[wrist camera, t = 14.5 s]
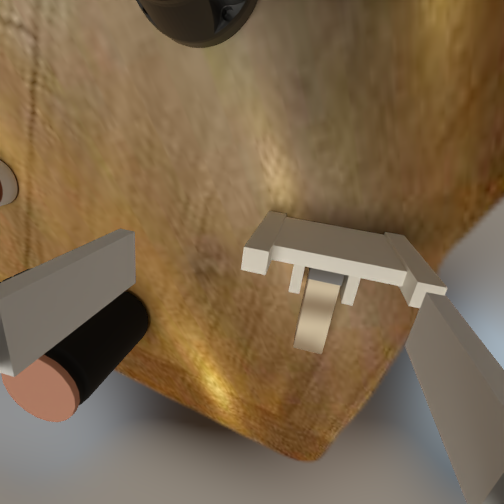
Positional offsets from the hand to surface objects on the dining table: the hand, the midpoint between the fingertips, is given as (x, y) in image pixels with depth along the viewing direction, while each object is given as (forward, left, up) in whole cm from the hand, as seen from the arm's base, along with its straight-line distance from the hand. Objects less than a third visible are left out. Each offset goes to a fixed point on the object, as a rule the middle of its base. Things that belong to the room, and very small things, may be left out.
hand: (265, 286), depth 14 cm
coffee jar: (-27, -27, -29) cm, 48 cm away
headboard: (+5, -8, -29) cm, 30 cm away
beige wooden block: (+5, -14, -29) cm, 33 cm away
